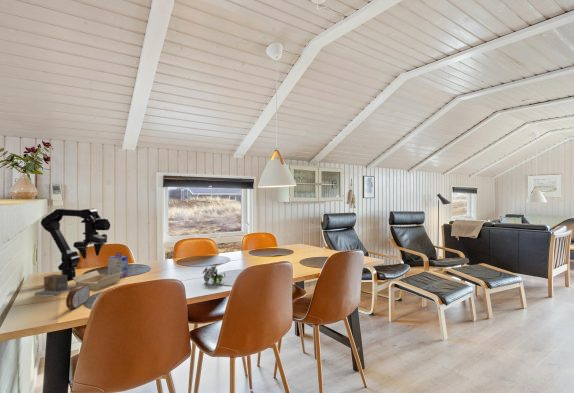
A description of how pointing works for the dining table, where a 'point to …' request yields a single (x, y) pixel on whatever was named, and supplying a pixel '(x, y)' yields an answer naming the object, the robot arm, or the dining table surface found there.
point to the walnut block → (55, 282)
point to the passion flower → (212, 275)
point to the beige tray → (96, 279)
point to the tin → (78, 296)
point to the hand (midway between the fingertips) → (91, 257)
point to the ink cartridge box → (118, 265)
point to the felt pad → (52, 292)
